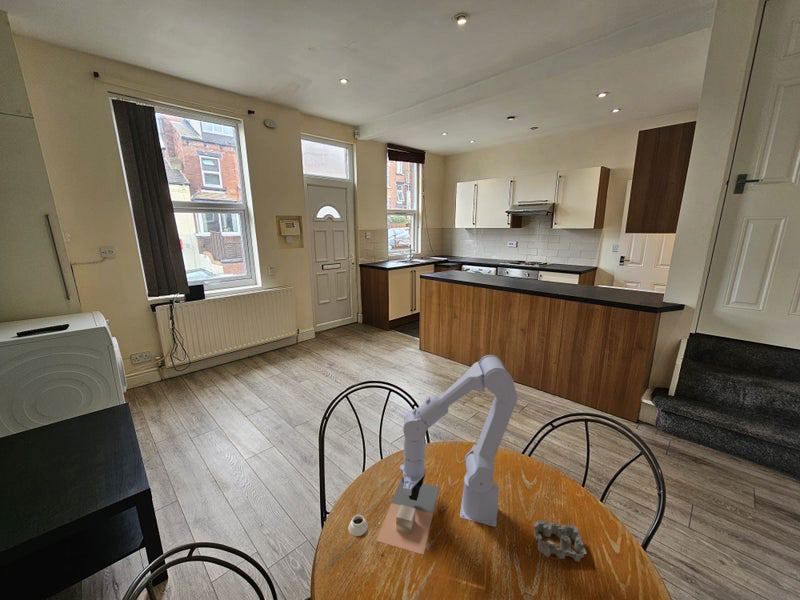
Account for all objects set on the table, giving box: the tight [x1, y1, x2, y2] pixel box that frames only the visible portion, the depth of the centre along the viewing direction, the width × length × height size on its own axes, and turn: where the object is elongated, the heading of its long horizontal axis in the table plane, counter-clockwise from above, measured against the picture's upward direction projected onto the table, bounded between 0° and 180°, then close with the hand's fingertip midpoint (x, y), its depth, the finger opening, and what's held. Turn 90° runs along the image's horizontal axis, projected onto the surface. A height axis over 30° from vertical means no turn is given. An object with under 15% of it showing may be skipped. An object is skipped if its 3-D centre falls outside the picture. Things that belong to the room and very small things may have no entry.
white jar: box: [347, 514, 369, 537], centre depth 83 cm, size 5×3×5 cm
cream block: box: [396, 505, 416, 534], centre depth 83 cm, size 4×4×4 cm
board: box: [375, 477, 440, 555], centre depth 88 cm, size 12×22×1 cm, turn 163°
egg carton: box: [533, 519, 588, 563], centre depth 79 cm, size 11×8×4 cm
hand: (413, 498), depth 90 cm, fingers closed
